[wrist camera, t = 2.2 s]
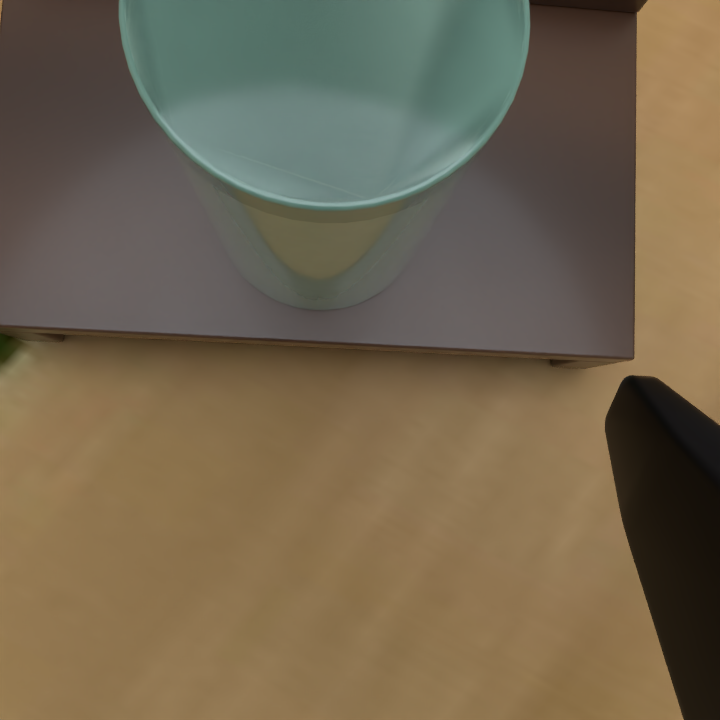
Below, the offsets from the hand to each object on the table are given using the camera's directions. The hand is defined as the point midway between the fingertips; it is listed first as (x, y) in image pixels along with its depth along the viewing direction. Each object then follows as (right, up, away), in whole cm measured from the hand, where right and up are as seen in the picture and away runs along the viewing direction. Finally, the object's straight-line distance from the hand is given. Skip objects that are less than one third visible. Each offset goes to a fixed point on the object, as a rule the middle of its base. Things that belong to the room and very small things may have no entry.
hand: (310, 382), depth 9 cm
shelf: (-1, +6, +12) cm, 14 cm away
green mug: (0, +5, +9) cm, 10 cm away
